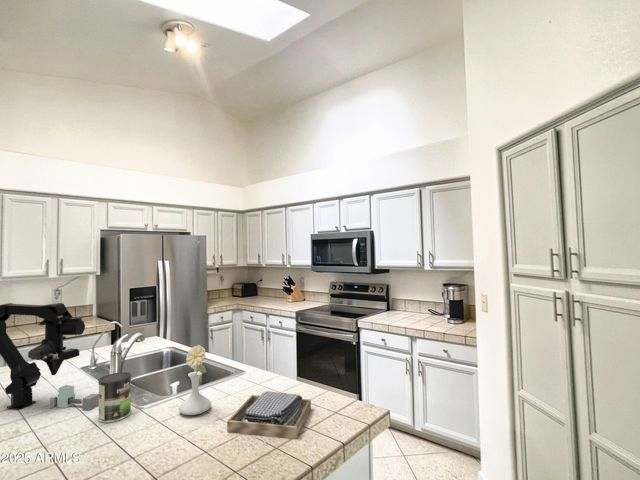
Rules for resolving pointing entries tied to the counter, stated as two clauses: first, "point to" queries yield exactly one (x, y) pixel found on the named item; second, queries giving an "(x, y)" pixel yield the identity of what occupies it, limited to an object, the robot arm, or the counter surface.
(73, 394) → the mint stepped block
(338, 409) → the counter surface
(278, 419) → the towel
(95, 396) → the grey angular piece
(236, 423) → the linen tray frame
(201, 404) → the flower in vase
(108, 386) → the coffee can
